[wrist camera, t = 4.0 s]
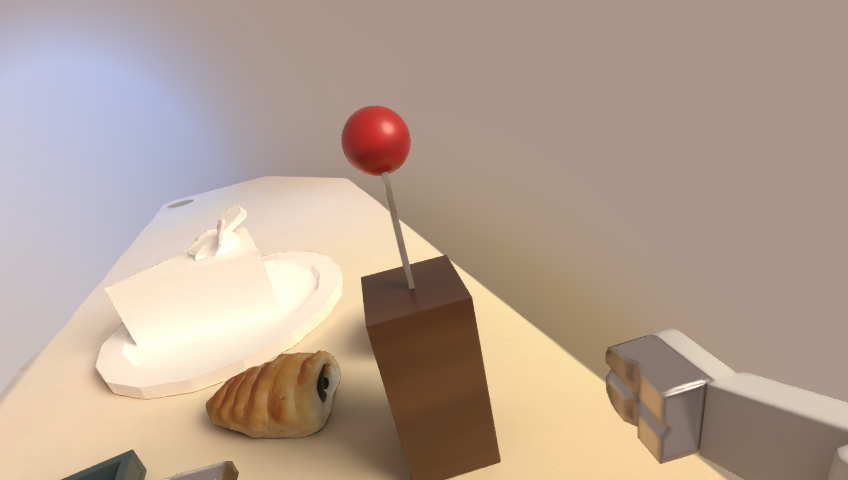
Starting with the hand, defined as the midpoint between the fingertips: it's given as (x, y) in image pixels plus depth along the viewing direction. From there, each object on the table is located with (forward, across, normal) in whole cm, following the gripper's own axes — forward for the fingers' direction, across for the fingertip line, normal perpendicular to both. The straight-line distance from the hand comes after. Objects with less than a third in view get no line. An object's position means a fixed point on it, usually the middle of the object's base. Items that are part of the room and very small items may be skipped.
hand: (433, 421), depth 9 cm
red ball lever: (+12, +1, -14) cm, 19 cm away
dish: (+37, -18, -15) cm, 43 cm away
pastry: (+19, -10, -15) cm, 26 cm away
